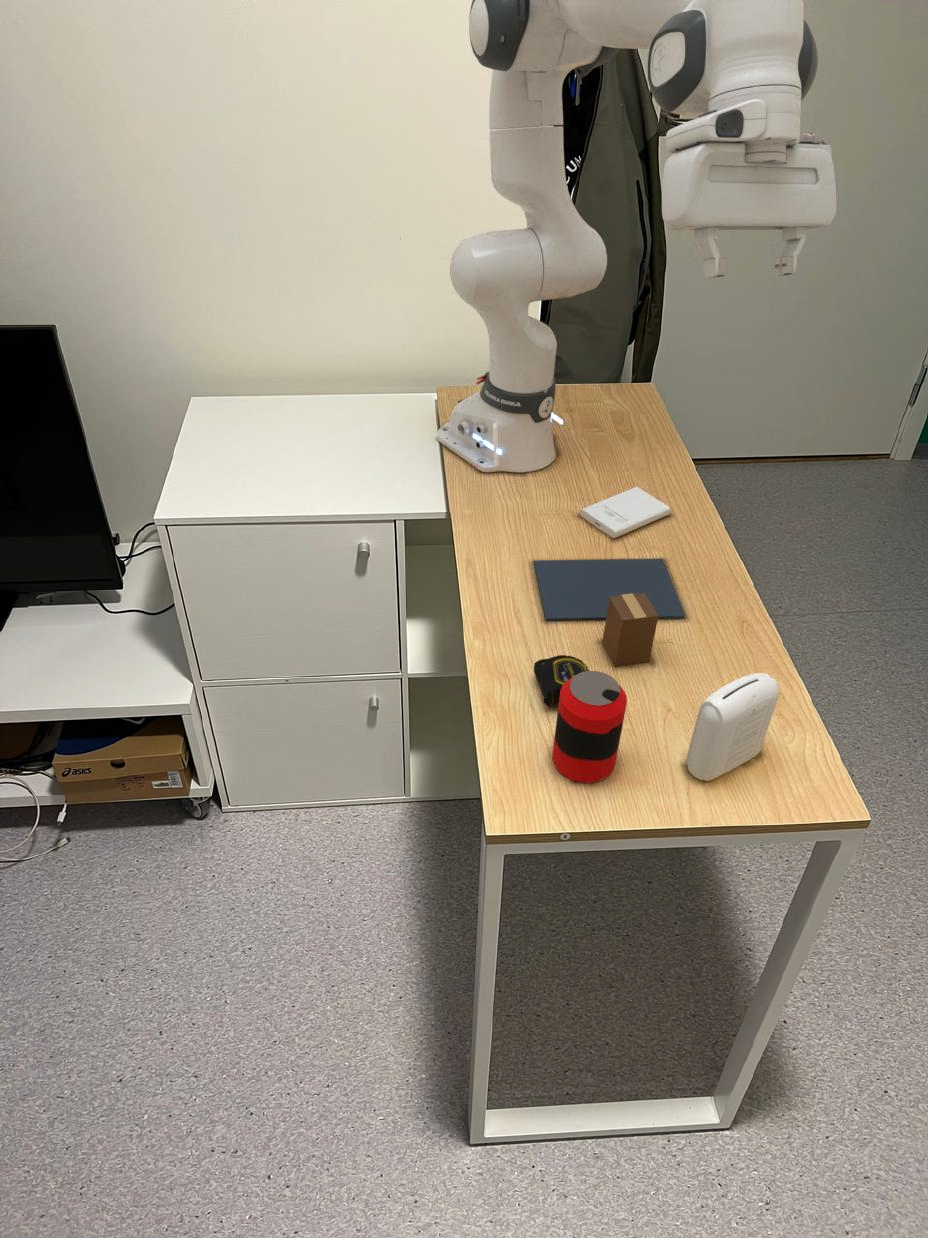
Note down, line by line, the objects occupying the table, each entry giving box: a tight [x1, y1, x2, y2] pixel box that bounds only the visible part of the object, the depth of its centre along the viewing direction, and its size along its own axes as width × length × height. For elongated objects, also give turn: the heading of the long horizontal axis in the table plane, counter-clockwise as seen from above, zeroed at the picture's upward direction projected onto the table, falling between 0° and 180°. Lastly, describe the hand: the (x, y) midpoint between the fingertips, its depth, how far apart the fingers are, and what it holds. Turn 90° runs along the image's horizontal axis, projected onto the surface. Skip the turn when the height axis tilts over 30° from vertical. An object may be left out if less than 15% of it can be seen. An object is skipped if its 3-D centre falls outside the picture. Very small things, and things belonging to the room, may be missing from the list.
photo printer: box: [685, 672, 780, 782], centre depth 112 cm, size 10×4×12 cm, turn 123°
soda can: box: [551, 670, 628, 784], centre depth 112 cm, size 8×8×12 cm
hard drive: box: [579, 486, 671, 539], centre depth 157 cm, size 2×8×12 cm
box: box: [601, 593, 659, 667], centre depth 129 cm, size 5×5×8 cm
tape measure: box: [533, 654, 590, 707], centre depth 124 cm, size 7×7×4 cm
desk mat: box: [533, 558, 686, 622], centre depth 142 cm, size 20×14×1 cm
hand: (750, 276), depth 100 cm, fingers open, 8 cm apart
